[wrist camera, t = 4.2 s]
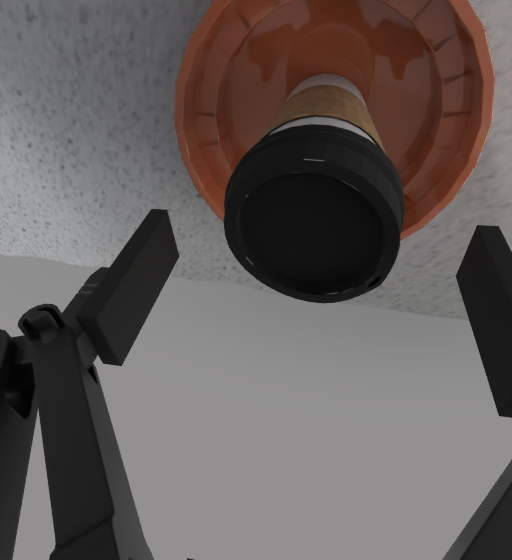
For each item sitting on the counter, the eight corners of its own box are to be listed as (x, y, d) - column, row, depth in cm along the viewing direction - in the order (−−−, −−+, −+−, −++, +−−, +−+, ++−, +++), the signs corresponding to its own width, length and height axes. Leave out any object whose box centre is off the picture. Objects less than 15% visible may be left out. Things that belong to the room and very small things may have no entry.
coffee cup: (336, 190, 30) (330, 332, 20) (247, 136, 28) (187, 260, 18) (412, 96, 25) (461, 225, 14) (305, 22, 23) (269, 105, 12)
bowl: (216, 218, 35) (201, 251, 32) (172, -50, 22) (138, -46, 18) (428, 229, 32) (438, 267, 28) (526, -80, 19) (568, -81, 15)
